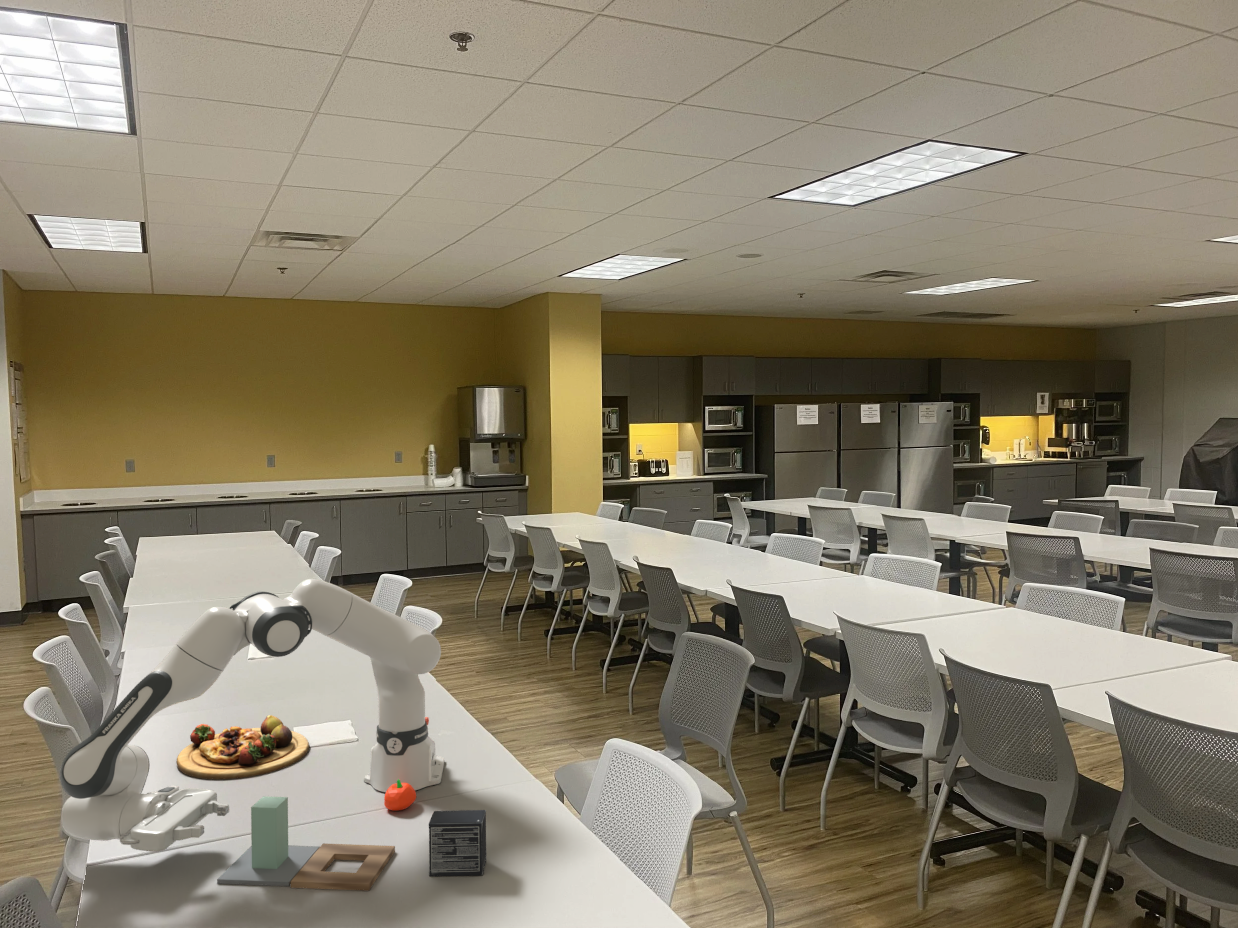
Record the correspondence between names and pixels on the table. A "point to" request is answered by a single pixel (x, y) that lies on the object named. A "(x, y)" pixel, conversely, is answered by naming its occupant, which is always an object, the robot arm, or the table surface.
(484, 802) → the table surface
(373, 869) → the pocket board
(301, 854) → the rubber mat
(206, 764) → the wooden plate with food
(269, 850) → the green block
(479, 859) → the small box
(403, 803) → the pumpkin
